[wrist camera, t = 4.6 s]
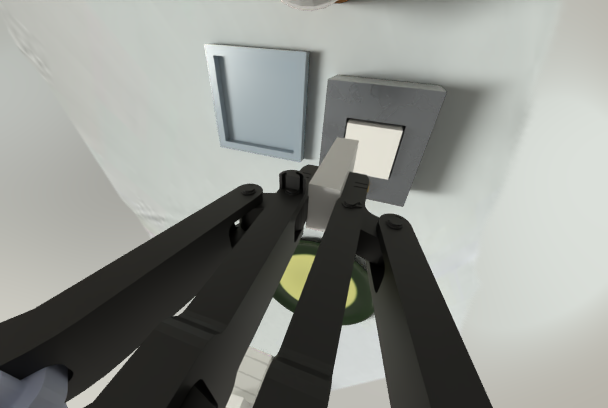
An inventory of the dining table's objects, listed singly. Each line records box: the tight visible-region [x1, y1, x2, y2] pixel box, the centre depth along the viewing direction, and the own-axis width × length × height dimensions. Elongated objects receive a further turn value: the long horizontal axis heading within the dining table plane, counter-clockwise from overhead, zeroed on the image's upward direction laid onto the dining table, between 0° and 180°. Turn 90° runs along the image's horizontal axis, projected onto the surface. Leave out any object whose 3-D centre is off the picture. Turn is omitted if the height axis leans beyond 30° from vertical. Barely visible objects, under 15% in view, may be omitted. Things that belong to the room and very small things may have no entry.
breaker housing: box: [319, 75, 447, 207], centre depth 29 cm, size 14×12×7 cm
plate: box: [273, 240, 374, 325], centre depth 53 cm, size 28×28×2 cm
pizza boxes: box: [225, 346, 272, 408], centre depth 88 cm, size 19×30×18 cm, turn 176°
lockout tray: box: [204, 44, 310, 162], centre depth 34 cm, size 14×14×2 cm
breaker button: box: [345, 118, 403, 180], centre depth 29 cm, size 6×6×6 cm
